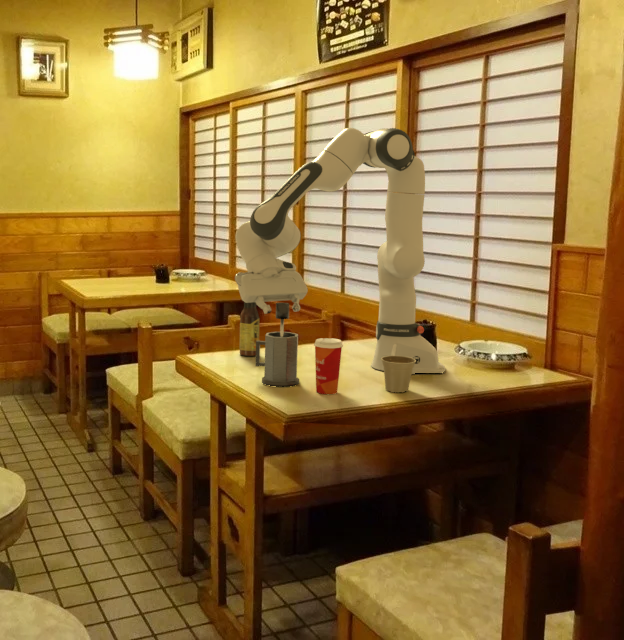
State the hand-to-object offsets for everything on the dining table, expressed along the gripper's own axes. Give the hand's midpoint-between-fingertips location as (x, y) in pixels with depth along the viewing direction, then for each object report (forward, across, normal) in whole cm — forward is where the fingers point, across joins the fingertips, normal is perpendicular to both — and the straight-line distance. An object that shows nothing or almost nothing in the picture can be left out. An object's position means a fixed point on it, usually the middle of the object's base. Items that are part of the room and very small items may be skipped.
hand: (283, 311), depth 215 cm
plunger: (+11, 0, +11) cm, 15 cm away
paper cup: (+24, +6, +4) cm, 25 cm away
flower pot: (+30, +24, -1) cm, 38 cm away
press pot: (+14, 0, +14) cm, 20 cm away
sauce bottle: (-11, +11, +40) cm, 43 cm away
